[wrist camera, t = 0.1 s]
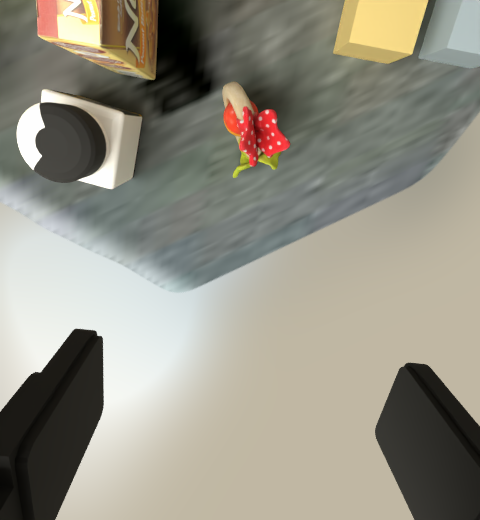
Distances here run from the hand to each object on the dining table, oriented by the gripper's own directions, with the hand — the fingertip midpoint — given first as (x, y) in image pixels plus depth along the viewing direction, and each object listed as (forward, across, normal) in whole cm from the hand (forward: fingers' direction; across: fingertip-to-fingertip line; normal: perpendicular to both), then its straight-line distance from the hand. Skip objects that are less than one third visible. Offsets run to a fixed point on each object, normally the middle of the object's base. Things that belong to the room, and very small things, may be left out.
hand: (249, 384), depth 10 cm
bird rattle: (+31, 0, -7) cm, 32 cm away
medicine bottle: (+31, +15, -4) cm, 35 cm away
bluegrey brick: (+31, -20, -20) cm, 42 cm away
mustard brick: (+31, -11, -19) cm, 38 cm away
